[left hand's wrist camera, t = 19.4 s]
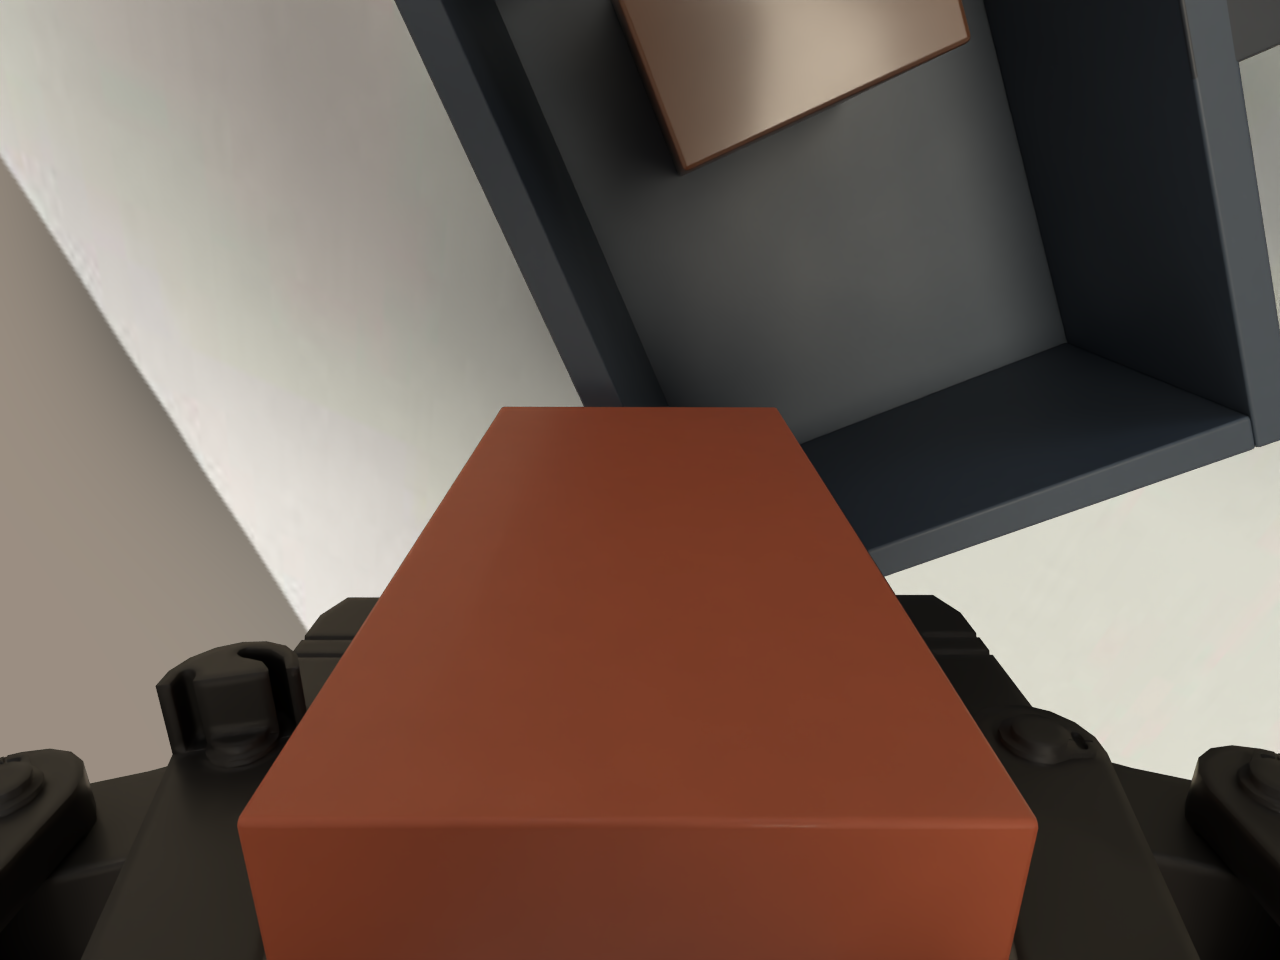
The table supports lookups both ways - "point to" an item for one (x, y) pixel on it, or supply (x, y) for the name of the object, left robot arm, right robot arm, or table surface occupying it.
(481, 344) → the table surface
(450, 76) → the tote
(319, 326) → the table surface
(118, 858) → the left robot arm
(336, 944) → the terracotta block
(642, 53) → the walnut block
